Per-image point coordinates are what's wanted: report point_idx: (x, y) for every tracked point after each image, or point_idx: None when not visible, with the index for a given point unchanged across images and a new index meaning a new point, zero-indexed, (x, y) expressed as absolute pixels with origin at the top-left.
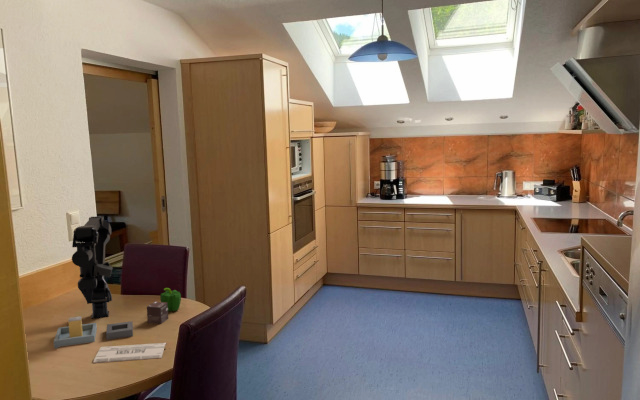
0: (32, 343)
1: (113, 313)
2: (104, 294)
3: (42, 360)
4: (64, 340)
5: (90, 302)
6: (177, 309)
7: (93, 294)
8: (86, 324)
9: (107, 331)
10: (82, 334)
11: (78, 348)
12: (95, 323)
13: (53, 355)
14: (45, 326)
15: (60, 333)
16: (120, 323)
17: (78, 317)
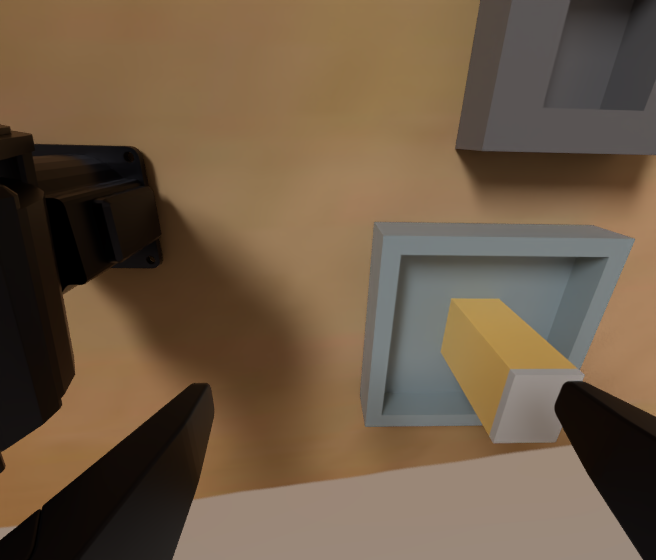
0: (412, 467)
1: (44, 105)
2: (12, 200)
3: None
4: None
5: (581, 388)
6: None
7: (34, 355)
8: (387, 297)
9: (645, 145)
10: (462, 299)
11: None
12: (397, 240)
13: (609, 388)
14: (214, 454)
15: (416, 402)
16: (529, 19)
17: (531, 391)
